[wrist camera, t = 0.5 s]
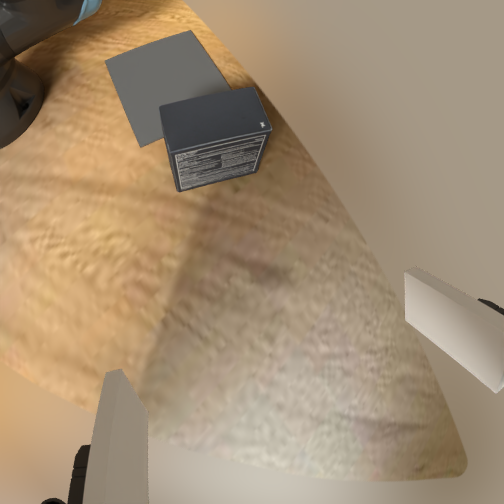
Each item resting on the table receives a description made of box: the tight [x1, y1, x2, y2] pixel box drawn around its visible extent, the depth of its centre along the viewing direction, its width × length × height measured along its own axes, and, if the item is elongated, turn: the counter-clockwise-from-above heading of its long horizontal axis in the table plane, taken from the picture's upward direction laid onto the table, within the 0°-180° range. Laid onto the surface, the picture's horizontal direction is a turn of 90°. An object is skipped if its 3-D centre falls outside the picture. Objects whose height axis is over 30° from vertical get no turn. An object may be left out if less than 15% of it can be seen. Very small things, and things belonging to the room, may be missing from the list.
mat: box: [105, 30, 231, 147], centre depth 41 cm, size 19×15×1 cm
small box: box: [159, 87, 272, 192], centre depth 34 cm, size 11×6×10 cm, turn 108°
